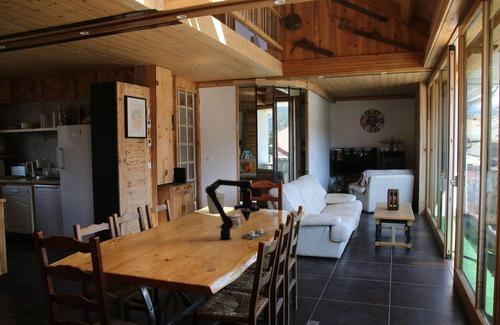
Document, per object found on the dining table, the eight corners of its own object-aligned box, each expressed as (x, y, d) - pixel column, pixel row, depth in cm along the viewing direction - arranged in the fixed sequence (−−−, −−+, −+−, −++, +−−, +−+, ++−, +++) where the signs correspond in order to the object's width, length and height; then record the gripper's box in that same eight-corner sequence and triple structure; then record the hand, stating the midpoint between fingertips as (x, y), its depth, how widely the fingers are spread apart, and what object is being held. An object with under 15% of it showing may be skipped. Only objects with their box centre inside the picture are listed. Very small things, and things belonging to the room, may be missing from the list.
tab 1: (252, 237, 262) (252, 232, 262) (249, 236, 264) (249, 231, 264) (255, 236, 265) (255, 231, 264) (252, 235, 266) (251, 230, 266)
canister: (218, 210, 380) (217, 189, 379) (229, 212, 366) (228, 190, 365) (202, 212, 368) (202, 190, 367) (213, 215, 354) (212, 192, 353)
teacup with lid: (228, 228, 298) (228, 213, 297) (230, 225, 307) (230, 211, 306) (243, 228, 296) (243, 213, 296) (245, 225, 305) (245, 211, 305)
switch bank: (251, 239, 260) (251, 237, 260) (241, 238, 265) (241, 235, 265) (267, 234, 274) (267, 231, 274) (257, 233, 279) (257, 230, 279)
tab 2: (261, 234, 270) (261, 229, 270) (258, 233, 272) (257, 228, 272) (263, 233, 273) (263, 228, 272) (260, 232, 274) (260, 228, 274)
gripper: (264, 197, 266) (264, 219, 267) (243, 195, 278) (243, 217, 279) (254, 199, 258) (255, 222, 259) (233, 197, 269) (233, 220, 270)
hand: (247, 220), depth 267 cm, fingers closed
